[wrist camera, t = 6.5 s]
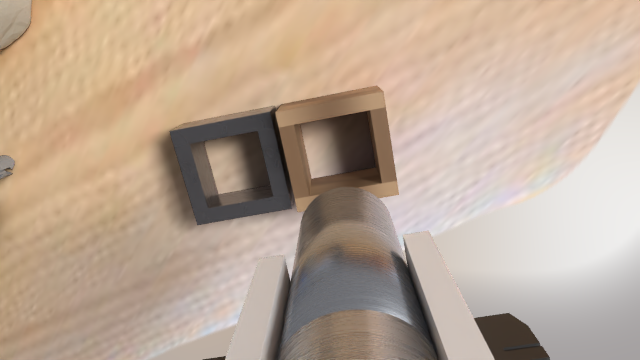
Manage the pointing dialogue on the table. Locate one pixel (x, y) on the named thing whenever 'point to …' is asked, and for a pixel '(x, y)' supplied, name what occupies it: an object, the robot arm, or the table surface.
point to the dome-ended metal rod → (352, 286)
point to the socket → (201, 178)
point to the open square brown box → (294, 113)
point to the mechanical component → (5, 165)
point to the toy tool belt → (13, 20)
